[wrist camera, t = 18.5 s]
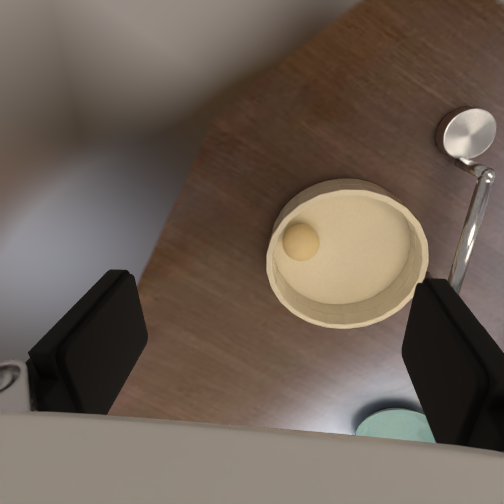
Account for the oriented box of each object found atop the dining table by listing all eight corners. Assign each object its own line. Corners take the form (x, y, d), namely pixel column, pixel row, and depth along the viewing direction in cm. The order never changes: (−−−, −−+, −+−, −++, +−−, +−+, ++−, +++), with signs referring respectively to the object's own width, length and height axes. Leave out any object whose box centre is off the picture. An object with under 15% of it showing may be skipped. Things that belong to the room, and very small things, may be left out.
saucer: (439, 396, 46) (445, 410, 44) (431, 450, 51) (437, 465, 49) (352, 396, 48) (354, 409, 46) (352, 448, 53) (355, 462, 51)
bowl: (270, 176, 35) (267, 187, 31) (429, 179, 34) (446, 191, 30) (268, 301, 43) (265, 323, 39) (399, 309, 41) (410, 333, 37)
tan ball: (289, 240, 32) (280, 217, 35) (284, 269, 35) (277, 246, 38) (328, 238, 33) (316, 215, 36) (320, 267, 36) (310, 244, 39)
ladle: (441, 107, 31) (479, 111, 24) (491, 106, 30) (544, 111, 24) (403, 276, 39) (424, 313, 32) (443, 278, 38) (472, 316, 32)
